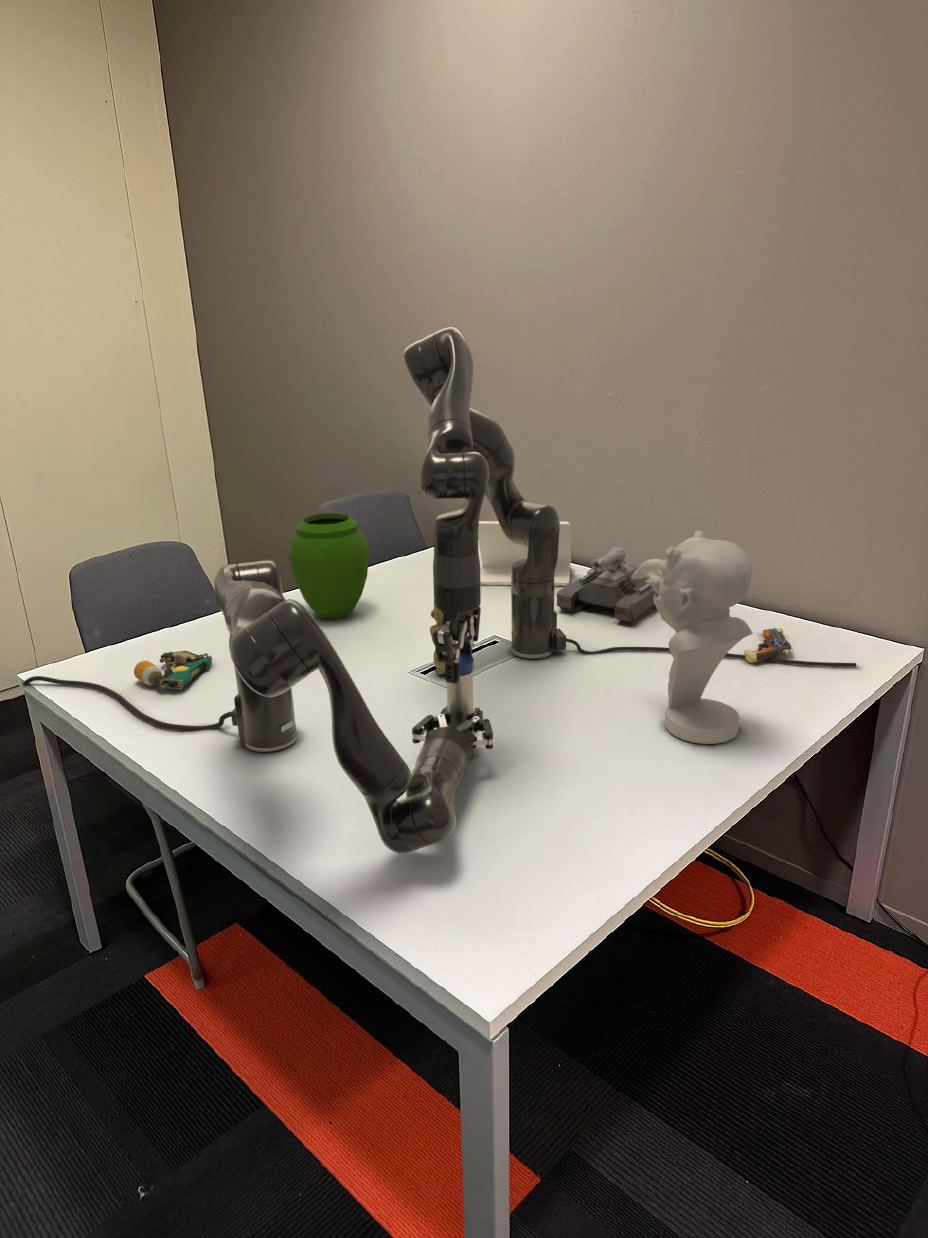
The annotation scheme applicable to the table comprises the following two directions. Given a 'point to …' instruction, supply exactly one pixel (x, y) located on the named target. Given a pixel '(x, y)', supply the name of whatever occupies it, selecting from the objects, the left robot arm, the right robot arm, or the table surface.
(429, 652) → the table surface
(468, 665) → the lid
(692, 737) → the bust sculpture
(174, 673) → the spray gun
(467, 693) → the jar
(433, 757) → the left robot arm
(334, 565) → the vase
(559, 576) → the tablet stand
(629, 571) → the toy
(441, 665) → the sculpture
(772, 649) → the toy gun
